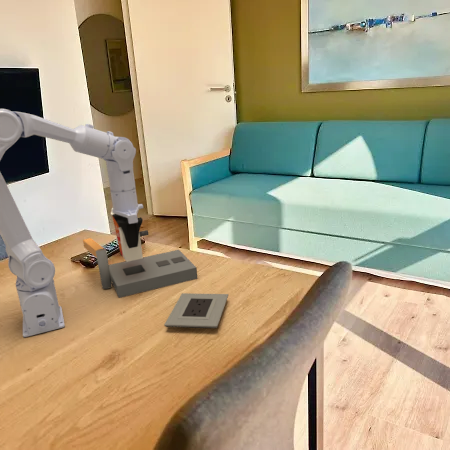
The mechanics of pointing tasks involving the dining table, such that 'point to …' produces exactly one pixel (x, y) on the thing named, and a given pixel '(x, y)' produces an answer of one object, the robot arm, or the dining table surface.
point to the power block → (151, 273)
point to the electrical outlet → (197, 311)
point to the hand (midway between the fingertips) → (130, 244)
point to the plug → (128, 252)
